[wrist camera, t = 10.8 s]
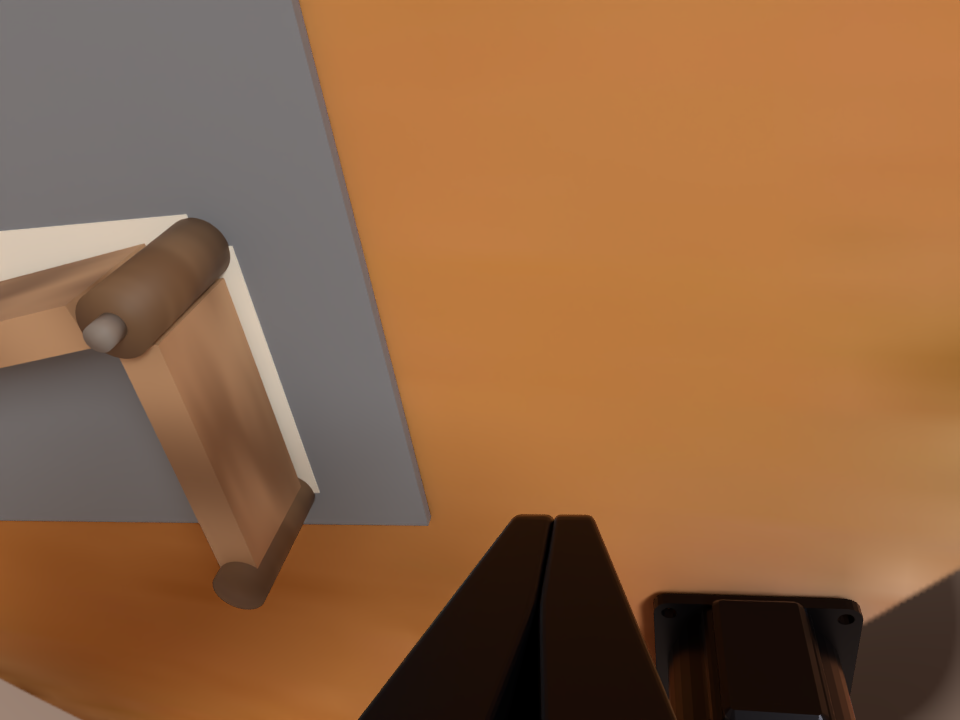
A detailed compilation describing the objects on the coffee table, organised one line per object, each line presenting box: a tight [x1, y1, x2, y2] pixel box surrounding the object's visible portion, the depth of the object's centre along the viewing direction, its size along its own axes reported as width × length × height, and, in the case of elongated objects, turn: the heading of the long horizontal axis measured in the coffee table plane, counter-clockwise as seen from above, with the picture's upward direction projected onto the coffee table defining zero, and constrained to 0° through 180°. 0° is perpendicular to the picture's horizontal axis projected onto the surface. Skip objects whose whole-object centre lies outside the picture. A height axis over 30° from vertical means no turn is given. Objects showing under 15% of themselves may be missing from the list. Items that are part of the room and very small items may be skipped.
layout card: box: [0, 0, 431, 526], centre depth 21 cm, size 24×19×1 cm
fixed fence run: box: [75, 218, 315, 609], centre depth 21 cm, size 11×2×5 cm, turn 9°
